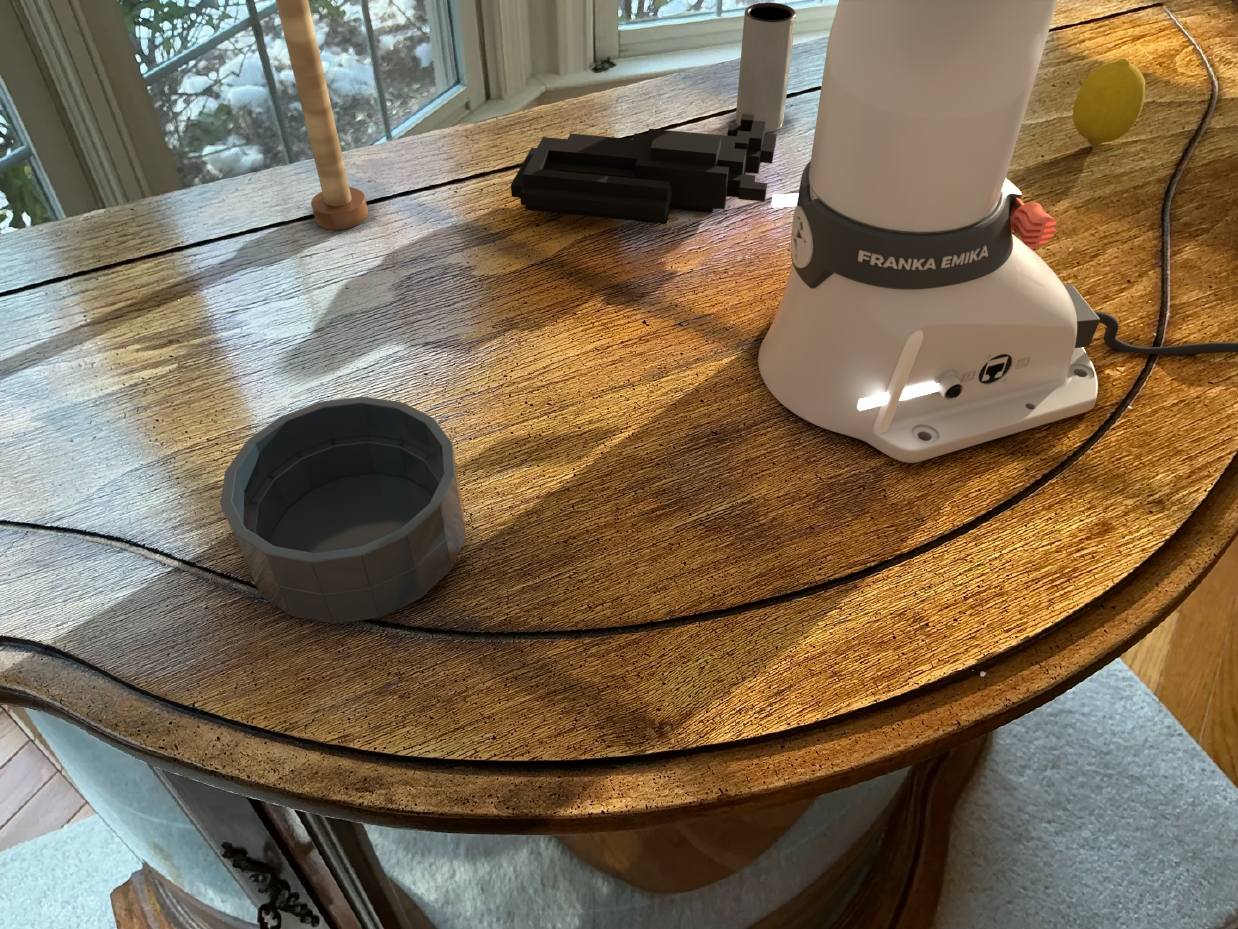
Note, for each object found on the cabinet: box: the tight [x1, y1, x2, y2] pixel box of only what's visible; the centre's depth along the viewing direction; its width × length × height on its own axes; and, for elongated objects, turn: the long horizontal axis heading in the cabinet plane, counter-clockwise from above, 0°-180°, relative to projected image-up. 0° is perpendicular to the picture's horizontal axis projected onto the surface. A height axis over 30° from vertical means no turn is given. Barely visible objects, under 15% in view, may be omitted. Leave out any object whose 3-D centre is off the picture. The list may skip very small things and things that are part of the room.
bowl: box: [220, 396, 467, 625], centre depth 55 cm, size 12×12×6 cm
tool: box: [510, 114, 778, 226], centre depth 83 cm, size 5×20×15 cm
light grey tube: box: [735, 1, 797, 133], centre depth 91 cm, size 4×4×10 cm
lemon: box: [1072, 57, 1146, 147], centre depth 88 cm, size 6×6×8 cm
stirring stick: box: [275, 0, 369, 231], centre depth 76 cm, size 4×4×18 cm
